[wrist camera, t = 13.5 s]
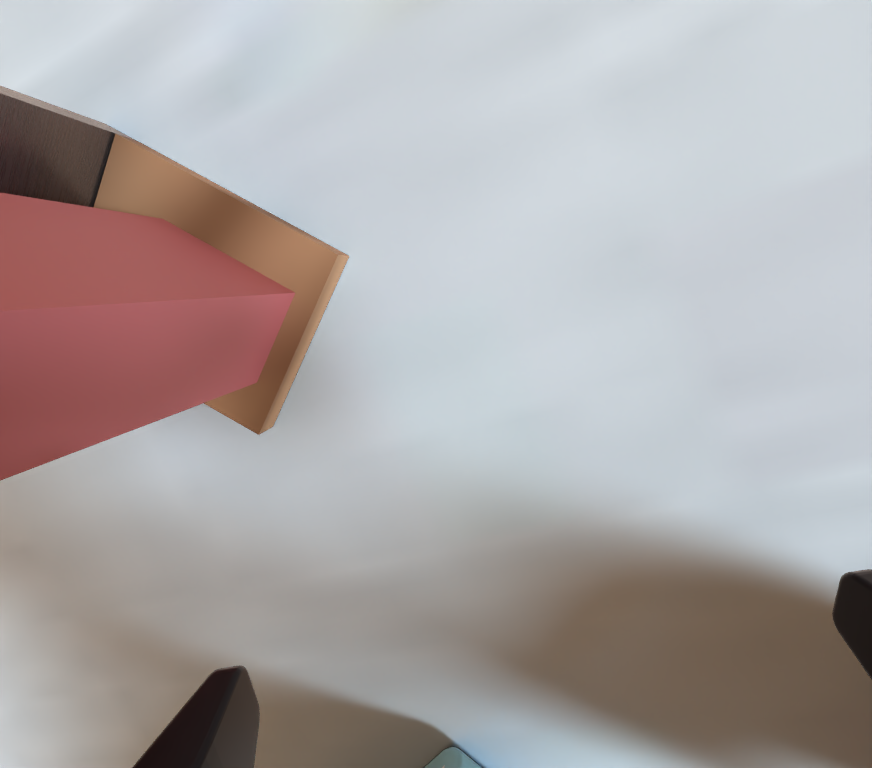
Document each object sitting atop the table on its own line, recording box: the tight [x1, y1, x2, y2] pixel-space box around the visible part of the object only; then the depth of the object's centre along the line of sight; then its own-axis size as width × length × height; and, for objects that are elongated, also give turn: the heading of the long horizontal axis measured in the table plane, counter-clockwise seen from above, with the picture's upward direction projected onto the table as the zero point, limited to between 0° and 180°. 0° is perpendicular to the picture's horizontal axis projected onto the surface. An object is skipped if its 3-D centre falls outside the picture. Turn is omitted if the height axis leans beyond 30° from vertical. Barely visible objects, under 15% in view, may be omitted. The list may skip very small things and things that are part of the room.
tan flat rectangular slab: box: [93, 134, 349, 435], centre depth 21 cm, size 10×8×1 cm
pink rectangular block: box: [0, 193, 295, 480], centre depth 14 cm, size 6×4×12 cm, turn 62°
